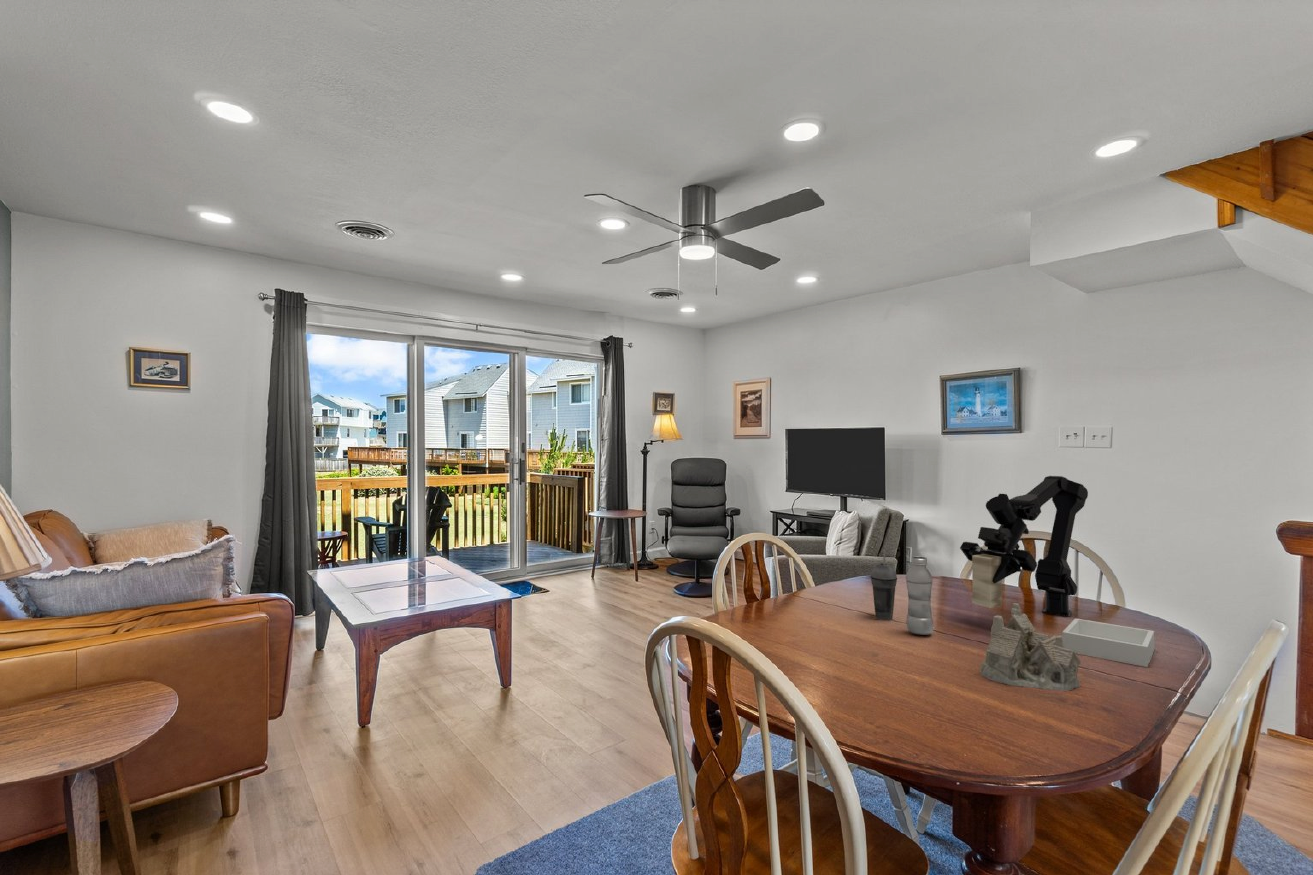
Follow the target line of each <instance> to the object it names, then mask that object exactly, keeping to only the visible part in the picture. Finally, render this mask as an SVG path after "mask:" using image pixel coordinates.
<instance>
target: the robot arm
mask: <svg viewBox="0 0 1313 875" xmlns="http://www.w3.org/2000/svg"><path fill="white" fill-rule="evenodd" d="M1088 496H1089V491H1088V489H1087V488H1086V486H1084V484H1082V483H1079V482H1076V481H1073V480H1070V479H1068V478H1066V477H1065V476H1062V475H1061V476H1060V475H1048V476H1045V477H1044V478H1043V480H1042V481H1041V482H1039V484H1038V485H1036V486H1035V487H1034V488H1032V489H1031V490H1030V491H1028V492H1027V493H1026V494H1023V495H1017V496H1015V497H1012V498H1009V496H1008V494H1007V493H998V495H997V496H994V497H991V498H990V499H989V500H987V501H986V503H985V509H986V510H987V511H988V512H989V514H990V516H991V517H992V519H993V520H994V522H995V523H996V524H998V525H999V527H998V529H997V528H993V527H985V526H980V529H979V532H978V537H977V539H979V540H982V541H983V542H984V543H983V546H984V547H986V548H983V547H981V546H980V545H979V544H978V542H972V541H971V542H970V541H963V542H962V543H961V545H960V547H959V549H960V550H961V552H962V553H963V555H964V556H965V557H966V559H967V560H968V561H969V562H970V561H971V562H972V556H973V555H980V554H988V555H993V556H999V557H1001V564H1000V566H999V568H998V570H997V571H996V573H995V575H994V577H993V580H992V581H993V583H997V582H999V581H1000V580H1002V581H1003V580H1004V579H1006V578H1007V577H1009V576H1011V575H1013V574H1016V573H1020V572H1022V570H1023V571H1026V572H1032V573H1035V574H1034V577H1035V578H1034V579H1035V582H1036V583H1035V584H1036V588H1037V590H1039V591H1045V594H1044V595H1045V596H1044V597H1045V608H1043V610H1041V612H1042V613H1043V614H1049V615H1055V616H1061V617H1069V616H1070V615H1071V614H1072V613H1073V610H1069V608H1070V606H1069V601H1070V600H1069V599H1070V598H1069V596H1076V595H1077V591H1078V586H1077V584H1076V583H1075V581H1074V580H1073V577H1072V569H1071V567H1070V566H1069V563H1068V561H1067V560H1068V557H1069V556H1068V554H1069V551H1070V550H1069V549H1070V544H1071V540H1072V534H1073V529H1074V524H1075V518H1076V514H1078V513H1079V511H1081V510H1082V509H1083V508H1084V507H1085V504H1086V501H1087V498H1088ZM1050 500H1051V501H1052V503H1053V504H1054V506H1055V516H1054V520H1053V524H1052V526H1053V527H1052V531H1051V534H1050V541H1049V545H1048V550H1047V555H1046V556H1044V558H1039V559H1038V561H1036V560H1035V558H1034V556H1033V555H1032V553H1031V552H1030V551H1029V550H1025V549H1020V545H1019V542H1020V541H1021V540H1020V539H1021V538H1022V536H1023V534H1024V535H1028V534H1030V532H1029V529H1028V525H1027V524H1026V523H1025V521H1031V522H1033V521H1035V520H1036V519H1037V518H1038V517H1039V516H1040V514H1041V513H1042V510H1041V509H1042V506H1043V505H1046V503H1047V502H1048V501H1050Z"/></svg>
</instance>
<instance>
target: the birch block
mask: <svg viewBox="0 0 1313 875" xmlns="http://www.w3.org/2000/svg"><path fill="white" fill-rule="evenodd" d="M971 562H972V564H971V565H972V567H971V568H972V570H971V571H972V578H971V580H972V586H971V587H972V591H971V592H972V605H977V606H981V607H985V608H987V609H992V608H998V607H1002V606H1003V603H1002V602H1003V598H1002V597H1003V596H1002V594H1003V592H1002V591H1003V583H1002V582H1003V579H1002V580H1000V581H999V582H997V583H993V581H992V580H993V577H994V575H995V573H996V571H997V570H998V568H999V566H1000V564H1001V557H999V556H993V555H988V554H980V555H973V556H972V561H971Z"/></svg>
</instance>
